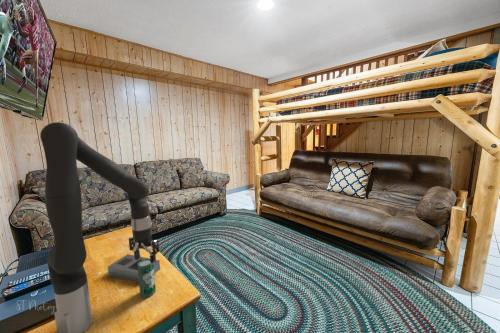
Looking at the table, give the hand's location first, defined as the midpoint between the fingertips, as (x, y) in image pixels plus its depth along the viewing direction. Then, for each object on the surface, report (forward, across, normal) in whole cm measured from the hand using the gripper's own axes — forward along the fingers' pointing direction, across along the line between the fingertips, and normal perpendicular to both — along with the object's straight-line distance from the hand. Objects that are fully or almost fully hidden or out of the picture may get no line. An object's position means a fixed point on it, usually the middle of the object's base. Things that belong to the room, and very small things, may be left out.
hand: (145, 260), depth 94 cm
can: (+16, 0, 0) cm, 16 cm away
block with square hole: (+16, -18, +10) cm, 26 cm away
